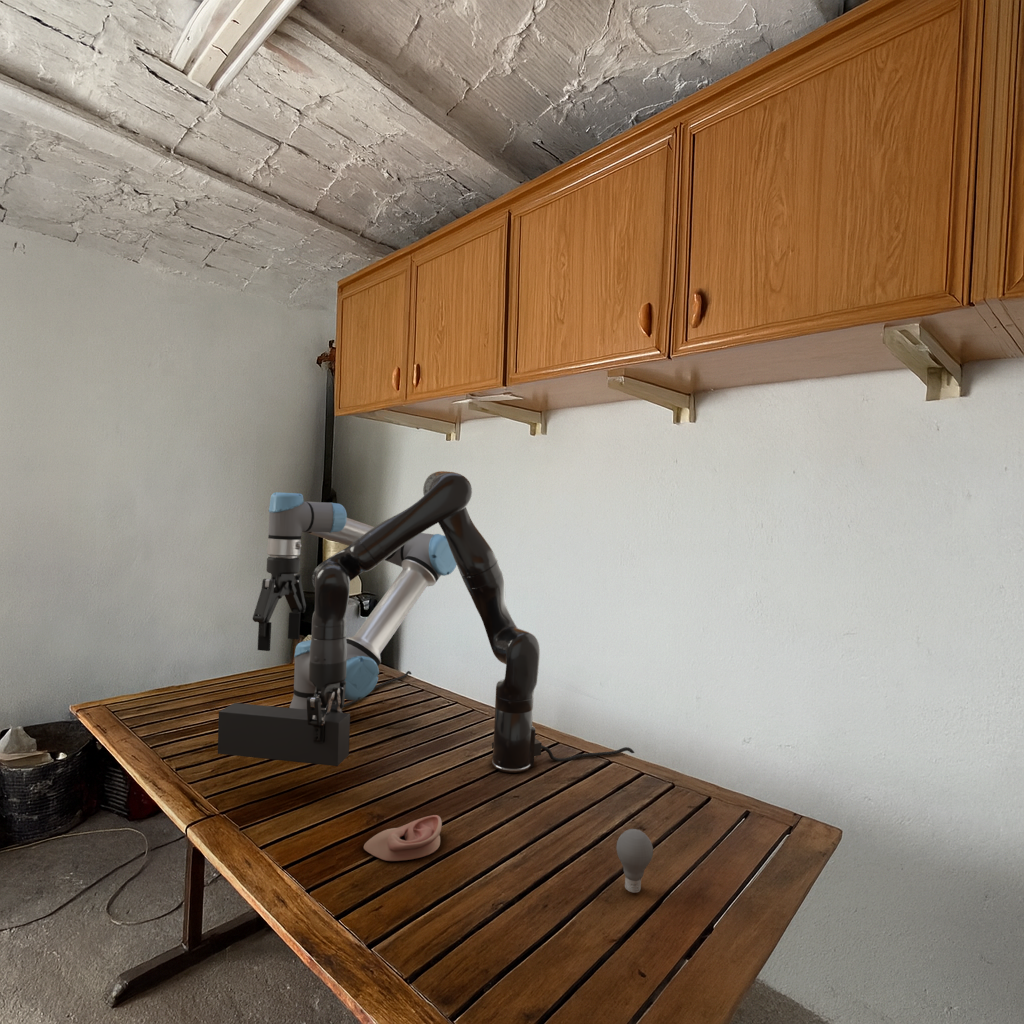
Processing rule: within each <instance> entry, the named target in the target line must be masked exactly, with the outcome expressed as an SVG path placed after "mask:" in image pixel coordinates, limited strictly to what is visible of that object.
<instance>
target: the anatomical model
mask: <svg viewBox="0 0 1024 1024" xmlns="http://www.w3.org/2000/svg"><path fill="white" fill-rule="evenodd" d="M442 826H443V822H442V818H441V816H440V815H437V814H433V815H428V816H424V817H421V818H417V819H414V820H412V821H410V822H408V823H406V824H404V825H401V826H398V827H392V828H388V829H384V830H382V831H380V832H378V833H377V834H375V835H373V836H372V837H370V838H369V839H368V840H367V841H366V842H365V843H364V845H363V850H364V851H365V852H367V853H368V854H370V855H371V856H373V857H375V858H377V859H380V860H382V861H385V862H386V861H387V862H400V861H408V860H409V861H410V860H414V859H415V860H416V859H420V858H423V857H426V856H429V855H431V854H433V853H435V852H436V851H437V850H438V849H439V847H440V845H441V835H440V834H441V831H442Z"/></svg>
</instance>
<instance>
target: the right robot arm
mask: <svg viewBox="0 0 1024 1024" xmlns="http://www.w3.org/2000/svg"><path fill="white" fill-rule="evenodd" d="M422 493H423V496H422V497H421V498H420V499H418V500H417V501H416V502H415V503H414V504H412V505H410V506H409V507H407V508H406V509H404V510H402V511H401V512H400V513H397V514H395V515H393V516H392V517H389V518H387V519H385V520H383V521H382V522H380V523H378V524H377V525H375V526H373V527H374V528H372V529H371V530H369V531H368V532H367V533H365V534H364V535H362V536H361V537H360V538H358V539H357V540H356V541H354V542H353V543H352V544H351V545H350V546H348V545H347V547H345V548H343V549H342V550H340V551H338V552H337V553H335V554H333V555H331V556H329V557H328V558H327V559H325V560H324V561H322V562H321V563H319V564H318V566H316V567H315V568H314V570H313V571H312V575H311V583H312V586H313V588H314V610H313V613H312V617H311V635H312V637H311V644H310V661H309V680H310V682H312V683H314V684H315V685H316V687H315V692H314V696H313V697H308V698H307V720H308V725H313V726H314V731H313V742H314V743H315V744H323V743H324V742H325V722H326V718H327V715H328V714H329V713H330V712H339V713H340V709H342V710H343V709H344V708H345V707H344V704H345V700H346V699H345V689H346V681H344V680H345V679H346V666H347V641H346V638H347V620H348V619H347V618H348V617H347V611H348V605H349V599H350V593H351V591H350V590H351V581H353V580H354V579H355V578H357V577H358V576H359V575H362V574H363V573H367V572H369V571H371V570H373V569H374V568H376V567H377V566H379V565H380V564H381V563H383V562H384V561H385V559H386V558H388V557H389V556H390V555H391V554H393V553H394V552H395V551H397V550H398V549H399V548H401V547H402V546H403V545H405V544H406V543H407V542H409V541H410V540H412V539H413V538H415V537H416V536H417V535H419V534H420V533H424V532H425V531H427V530H428V529H430V528H432V527H434V526H435V525H436V524H438V525H439V527H440V529H441V531H442V532H443V535H444V536H445V537H446V539H447V542H448V544H449V547H450V550H451V552H452V555H453V557H454V560H455V562H456V564H457V565H456V567H457V569H458V572H459V574H460V577H461V579H462V581H463V583H464V585H465V588H466V590H467V592H468V593H469V595H470V597H471V600H472V602H473V604H474V607H475V608H476V611H477V612H478V615H479V616H480V619H481V620H482V621H481V622H482V624H483V626H484V627H483V628H484V629H485V633H486V636H487V639H488V642H489V645H490V648H491V651H492V653H493V656H494V657H495V658H496V659H497V660H498V662H500V663H502V664H504V665H505V674H504V678H503V679H500V680H499V681H497V682H496V685H495V701H494V725H493V741H492V743H491V750H492V759H491V760H492V761H491V765H492V767H493V769H495V770H496V771H500V772H503V773H508V774H518V773H519V774H520V773H524V772H526V771H528V770H530V769H531V768H534V767H535V757H538V756H539V757H540V756H542V750H544V751H545V752H547V754H548V756H549V758H550V759H551V760H552V761H554V762H567V761H574V760H576V759H577V760H578V759H583V758H592V757H593V758H594V757H604V756H615V755H618V754H621V753H623V752H629V753H631V754H635V751H634V750H633V749H632V748H631V747H629V746H626V747H622V748H619V749H617V750H611V751H602V752H588V753H587V752H585V753H580V754H579V753H578V754H575V755H572V756H569V757H562V758H561V757H555V756H554V755H553V752H552V750H551V749H550V748H548V747H547V746H545V745H543V744H542V743H543V742H542V741H540V740H539V739H537V738H536V727H535V726H533V715H534V696H535V695H534V693H535V689H536V686H537V685H538V681H539V671H540V660H541V646H540V642H539V639H538V638H537V637H536V635H534V633H532V632H529V631H527V630H524V629H522V628H519V627H518V626H517V624H516V623H515V621H514V619H513V617H512V614H511V613H510V610H509V608H508V605H507V601H506V580H505V579H506V578H505V575H504V572H503V569H502V568H501V566H500V563H499V560H498V558H497V557H496V554H495V553H494V551H493V549H492V548H491V545H490V544H489V542H488V541H487V540H486V539H485V538H484V535H482V534H481V532H480V531H479V529H478V528H477V527H476V525H475V523H474V522H473V521H472V518H471V516H470V514H469V511H468V508H467V506H468V505H469V504H470V502H471V500H472V497H473V488H472V484H471V482H470V481H469V480H468V478H467V477H465V475H463V474H461V473H458V472H454V471H446V470H445V471H444V470H440V471H439V470H438V471H435V472H432V473H431V474H429V475H428V476H427V478H426V479H425V481H424V483H423V488H422ZM321 708H326V709H325V710H321ZM321 714H322V719H321ZM312 715H313V719H312Z"/></svg>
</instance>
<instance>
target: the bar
mask: <svg viewBox="0 0 1024 1024" xmlns="http://www.w3.org/2000/svg"><path fill="white" fill-rule="evenodd" d="M312 719H313V715H312ZM321 719H322V714H321ZM350 730H351V713H349V712H348V713H347V712H343V713H339V712H330V713H329V714H328V715H327V718H326V722H325V742H324V743H323V744H315V743H314V742H313V731H314V726H313V725H308V720H307V710H306V709H295V708H289V707H283V706H271V705H263V704H262V705H261V704H251V703H250V704H249V703H239V702H233V703H232V704H230V705H228V706H227V707H225V708H222V709H221V710H219V711H218V726H217V754H218V755H226V756H237V757H245V758H256V759H264V760H275V761H282V762H283V761H284V762H294V763H303V764H312V765H323V766H332V767H338V766H340V764H342V762H344V760H345V759H347V757H348V756H350V734H351V733H350V732H351V731H350Z"/></svg>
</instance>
